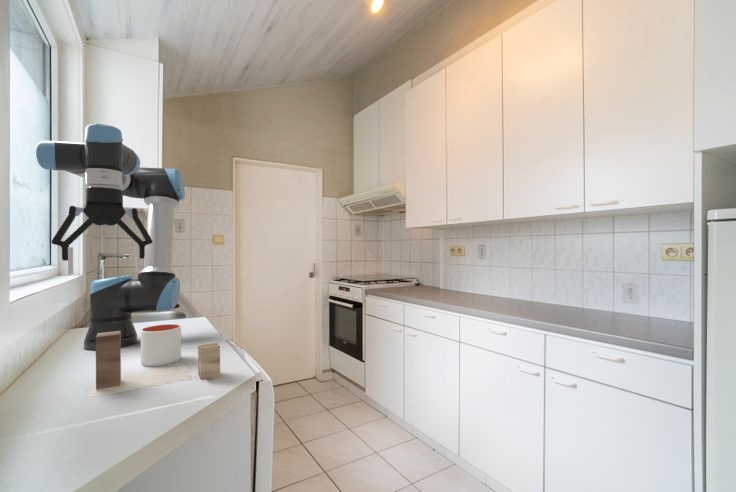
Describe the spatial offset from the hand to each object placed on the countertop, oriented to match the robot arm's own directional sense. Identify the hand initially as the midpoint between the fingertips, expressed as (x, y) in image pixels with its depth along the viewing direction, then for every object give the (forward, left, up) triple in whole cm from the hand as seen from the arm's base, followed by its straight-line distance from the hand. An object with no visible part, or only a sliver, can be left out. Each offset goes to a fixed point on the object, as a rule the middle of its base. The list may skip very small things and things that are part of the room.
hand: (105, 273), depth 91 cm
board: (+7, +8, -27) cm, 29 cm away
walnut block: (+7, +1, -26) cm, 27 cm away
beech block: (+13, +22, -27) cm, 37 cm away
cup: (-7, +12, -27) cm, 30 cm away
